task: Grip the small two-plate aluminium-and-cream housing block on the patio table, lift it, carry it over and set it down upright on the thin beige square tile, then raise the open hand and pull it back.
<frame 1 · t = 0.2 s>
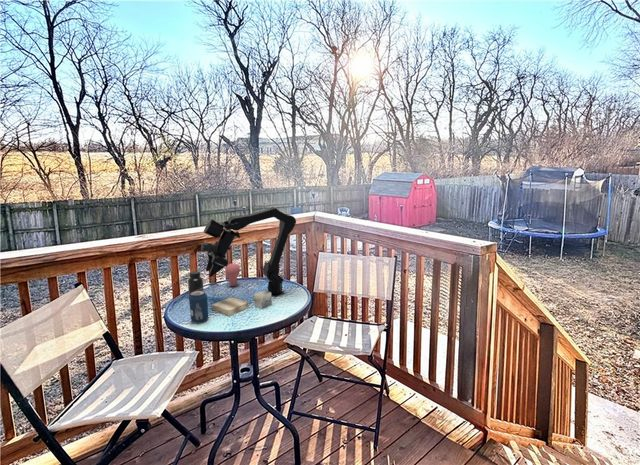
hand: (208, 273, 167), 15 cm above the table, tool tilted 30°, fingers open, 9 cm apart
light bulb: (233, 286, 194), on the table
soda can: (200, 320, 154), on the table
supplement bottle: (196, 296, 180), on the table
thin beige square tile: (230, 308, 165), on the table
housing block: (263, 305, 168), on the table
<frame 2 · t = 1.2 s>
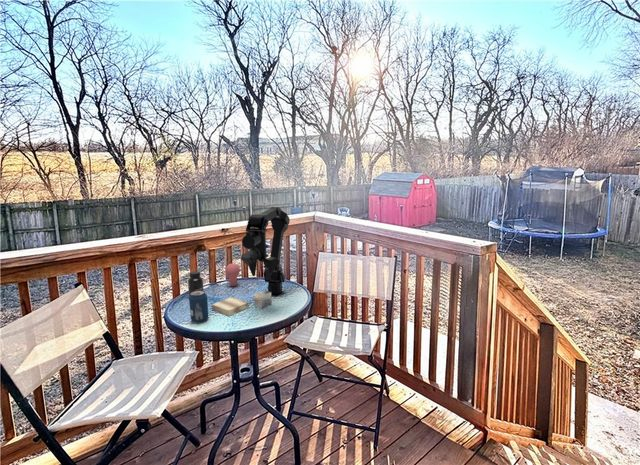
hand: (260, 278, 165), 13 cm above the table, tool pointing down, fingers open, 9 cm apart
nothing on the table moved.
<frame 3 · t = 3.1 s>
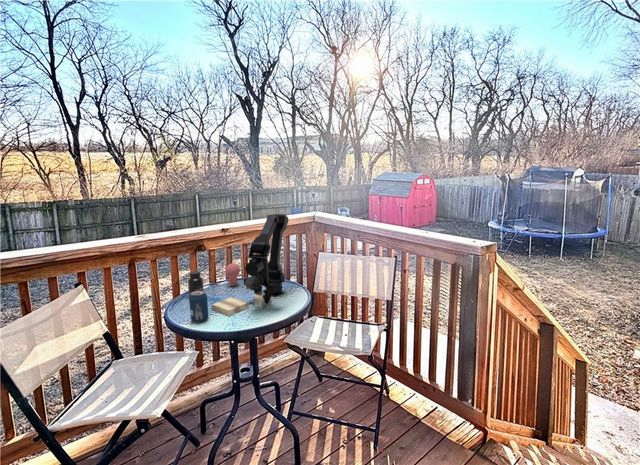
hand: (263, 302, 168), 2 cm above the table, tool pointing down, fingers closed on housing block, 5 cm apart
housing block: (263, 305, 168), on the table, touching gripper
everything else where it was.
when the fingers open (5 cm above the table, at t = 8.6 s): housing block drops 1 cm, resting on thin beige square tile.
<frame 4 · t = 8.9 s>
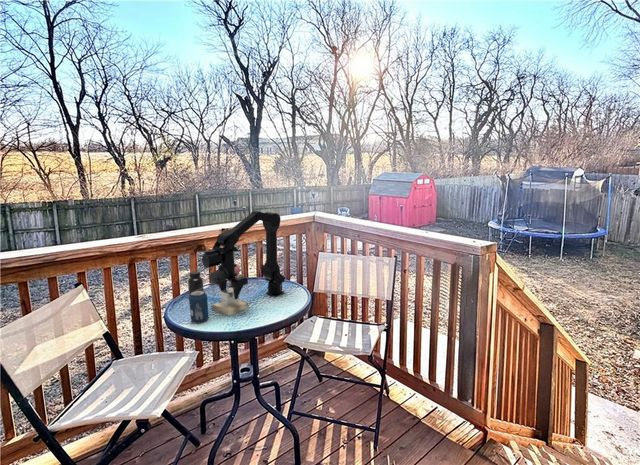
hand: (229, 297, 164), 5 cm above the table, tool pointing down, fingers open, 8 cm apart
housing block: (230, 303, 165), point 2 cm above the table, touching thin beige square tile
everything else where it was.
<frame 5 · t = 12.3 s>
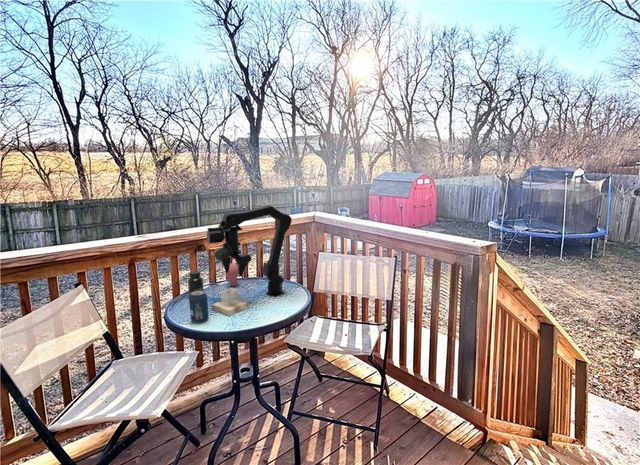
hand: (233, 274, 171), 13 cm above the table, tool pointing down, fingers open, 9 cm apart
nothing on the table moved.
at the end: housing block inside the target area on the thin beige square tile (0.0 cm from its centre), point 2.5 cm above the thin beige square tile's base; housing block tilted 0°; the gripper is holding nothing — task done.
